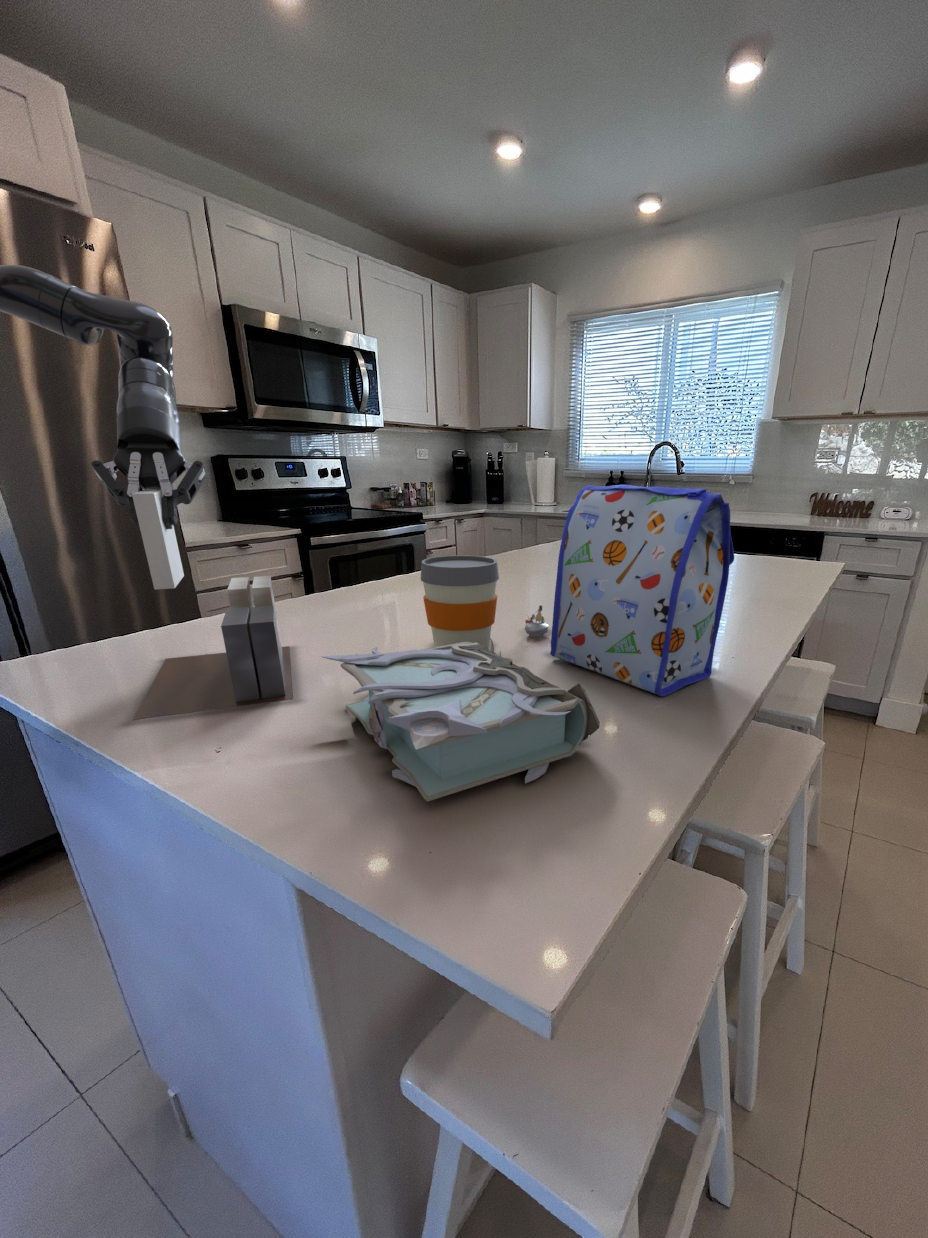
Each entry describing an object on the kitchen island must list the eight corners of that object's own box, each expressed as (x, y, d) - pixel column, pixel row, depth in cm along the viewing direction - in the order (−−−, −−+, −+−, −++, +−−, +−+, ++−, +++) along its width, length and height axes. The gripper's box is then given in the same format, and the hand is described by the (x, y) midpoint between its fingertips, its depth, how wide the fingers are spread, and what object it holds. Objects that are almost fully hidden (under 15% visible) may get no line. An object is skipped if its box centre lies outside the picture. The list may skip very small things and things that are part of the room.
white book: (154, 589, 74) (131, 493, 70) (165, 577, 82) (145, 489, 77) (175, 588, 75) (153, 493, 70) (184, 576, 83) (165, 489, 78)
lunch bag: (726, 673, 86) (755, 486, 76) (666, 702, 75) (690, 490, 65) (607, 640, 101) (617, 482, 91) (543, 661, 91) (547, 484, 81)
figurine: (539, 642, 100) (540, 609, 98) (518, 638, 102) (518, 606, 100) (553, 635, 104) (554, 603, 102) (533, 631, 106) (533, 600, 104)
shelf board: (134, 729, 67) (104, 621, 62) (167, 665, 88) (147, 581, 83) (295, 707, 73) (279, 607, 68) (290, 653, 94) (278, 573, 89)
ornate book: (609, 769, 61) (475, 676, 84) (618, 687, 57) (474, 613, 80) (414, 838, 49) (320, 708, 72) (408, 742, 46) (311, 637, 69)
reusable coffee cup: (409, 653, 94) (402, 562, 88) (456, 636, 104) (453, 552, 98) (468, 668, 87) (466, 570, 82) (513, 647, 97) (514, 559, 92)
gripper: (210, 448, 85) (218, 541, 79) (101, 446, 80) (101, 546, 75) (198, 406, 79) (207, 504, 73) (79, 402, 74) (78, 507, 68)
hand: (153, 525), depth 74 cm, fingers closed on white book, 2 cm apart
